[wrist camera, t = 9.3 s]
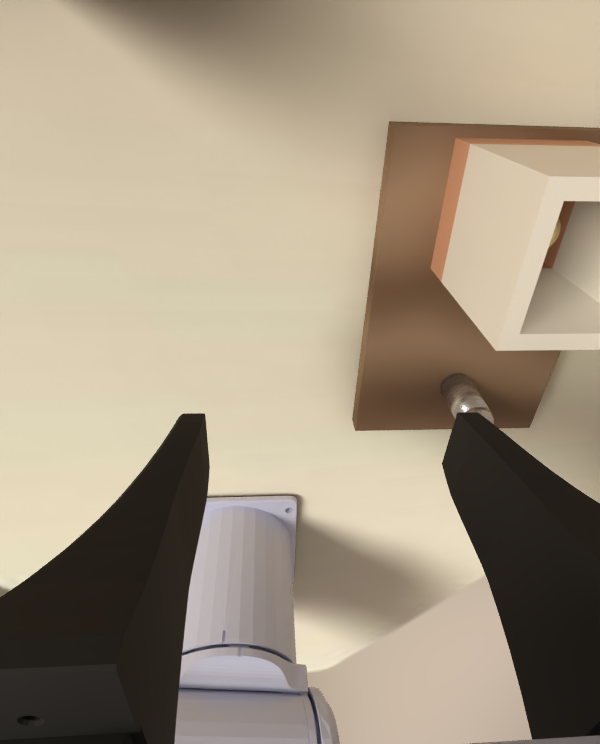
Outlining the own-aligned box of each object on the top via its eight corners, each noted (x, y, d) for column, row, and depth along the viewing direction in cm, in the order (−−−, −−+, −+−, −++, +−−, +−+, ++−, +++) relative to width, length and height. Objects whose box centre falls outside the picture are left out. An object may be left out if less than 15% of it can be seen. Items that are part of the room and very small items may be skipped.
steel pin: (466, 397, 25) (494, 443, 22) (437, 398, 25) (461, 444, 22) (473, 372, 24) (503, 417, 21) (443, 373, 24) (469, 418, 21)
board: (521, 416, 27) (529, 427, 26) (352, 418, 26) (355, 430, 26) (632, 129, 19) (649, 132, 18) (389, 121, 18) (395, 124, 17)
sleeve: (543, 268, 21) (650, 349, 15) (430, 268, 20) (495, 350, 15) (586, 140, 18) (740, 179, 12) (455, 137, 18) (549, 176, 12)
